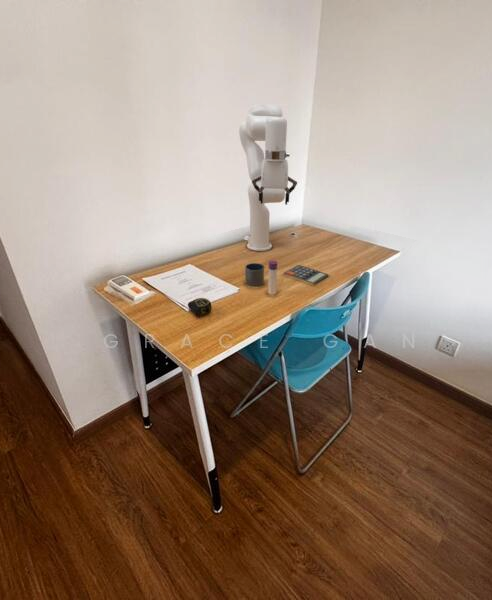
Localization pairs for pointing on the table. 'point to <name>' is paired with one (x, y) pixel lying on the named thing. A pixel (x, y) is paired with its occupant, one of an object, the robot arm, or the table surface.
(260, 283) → the pen cup
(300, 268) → the calculator
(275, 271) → the glue stick
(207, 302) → the tape measure
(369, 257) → the table surface
